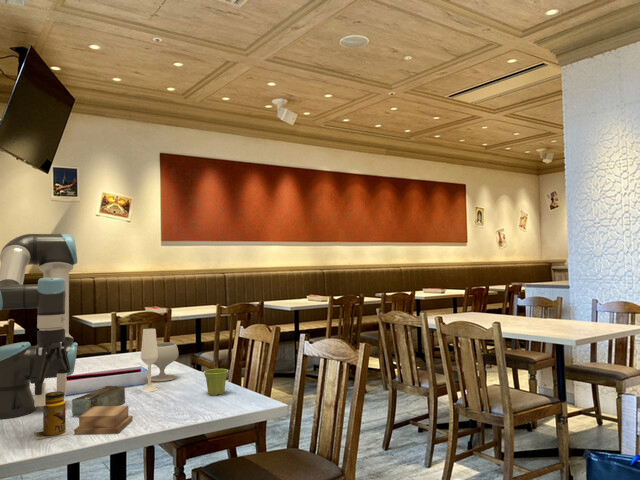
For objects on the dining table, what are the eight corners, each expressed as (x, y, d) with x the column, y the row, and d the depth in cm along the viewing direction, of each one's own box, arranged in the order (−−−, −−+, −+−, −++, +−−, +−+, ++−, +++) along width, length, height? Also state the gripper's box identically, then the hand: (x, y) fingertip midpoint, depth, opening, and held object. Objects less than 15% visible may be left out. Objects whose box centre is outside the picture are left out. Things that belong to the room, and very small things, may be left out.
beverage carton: (70, 417, 177) (70, 397, 177) (107, 402, 195) (107, 384, 196) (90, 418, 175) (90, 398, 175) (126, 403, 193) (126, 385, 194)
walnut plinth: (74, 434, 158) (74, 417, 158) (91, 421, 171) (91, 405, 171) (118, 433, 158) (118, 416, 158) (132, 420, 171) (132, 404, 171)
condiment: (68, 434, 158) (68, 393, 159) (36, 440, 154) (36, 398, 154) (64, 428, 164) (64, 389, 165) (33, 433, 160) (34, 393, 160)
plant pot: (199, 396, 201) (198, 372, 201) (211, 390, 210) (211, 368, 210) (221, 397, 198) (221, 374, 199) (232, 391, 207) (232, 369, 208)
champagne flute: (161, 387, 215) (160, 328, 216) (154, 391, 209) (153, 330, 210) (145, 387, 216) (144, 328, 217) (137, 391, 209) (137, 330, 210)
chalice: (183, 375, 238) (183, 342, 238) (171, 382, 224) (171, 347, 224) (153, 375, 239) (153, 342, 240) (139, 382, 225) (139, 347, 226)
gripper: (43, 333, 148) (43, 410, 147) (81, 324, 173) (81, 390, 172) (16, 334, 148) (15, 411, 146) (57, 324, 172) (57, 390, 171)
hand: (51, 400), depth 159 cm, fingers open, 13 cm apart
